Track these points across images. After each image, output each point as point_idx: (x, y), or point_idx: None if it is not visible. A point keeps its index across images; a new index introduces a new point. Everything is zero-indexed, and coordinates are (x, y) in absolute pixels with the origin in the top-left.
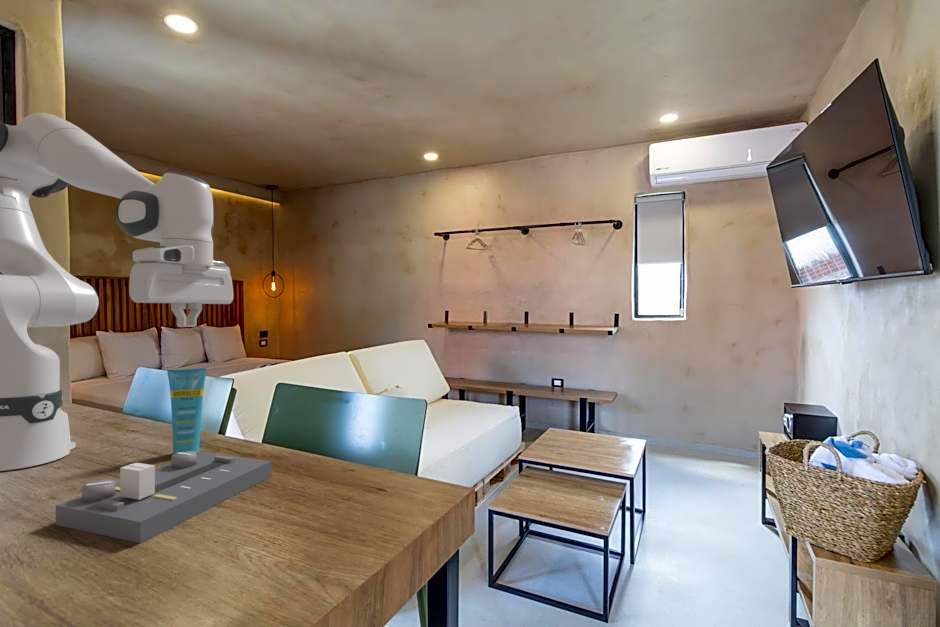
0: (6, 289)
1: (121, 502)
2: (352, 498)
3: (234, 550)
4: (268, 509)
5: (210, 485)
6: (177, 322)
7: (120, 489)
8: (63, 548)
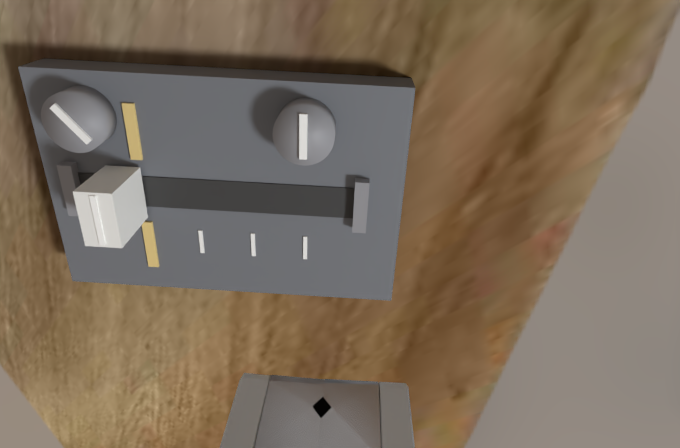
0: None
1: None
2: None
3: (143, 378)
4: (256, 353)
5: (230, 275)
6: (233, 409)
7: (98, 171)
8: (18, 165)
